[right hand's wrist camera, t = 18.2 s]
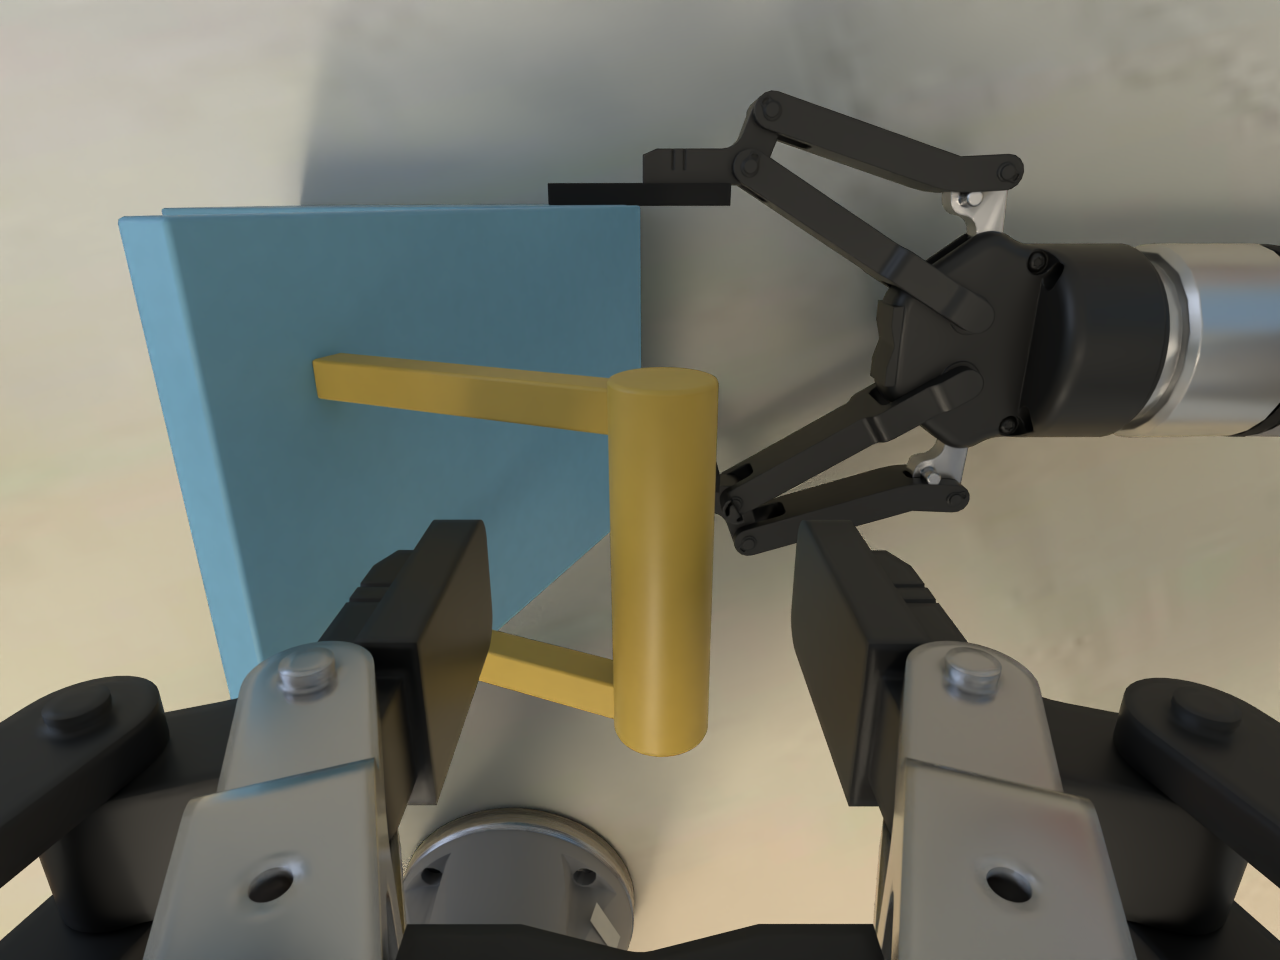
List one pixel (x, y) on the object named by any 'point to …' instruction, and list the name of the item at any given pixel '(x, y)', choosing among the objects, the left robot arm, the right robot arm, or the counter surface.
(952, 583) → the counter surface
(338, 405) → the lid
